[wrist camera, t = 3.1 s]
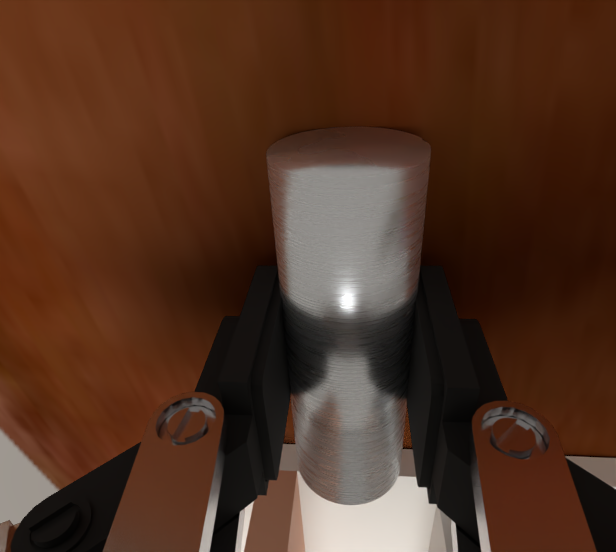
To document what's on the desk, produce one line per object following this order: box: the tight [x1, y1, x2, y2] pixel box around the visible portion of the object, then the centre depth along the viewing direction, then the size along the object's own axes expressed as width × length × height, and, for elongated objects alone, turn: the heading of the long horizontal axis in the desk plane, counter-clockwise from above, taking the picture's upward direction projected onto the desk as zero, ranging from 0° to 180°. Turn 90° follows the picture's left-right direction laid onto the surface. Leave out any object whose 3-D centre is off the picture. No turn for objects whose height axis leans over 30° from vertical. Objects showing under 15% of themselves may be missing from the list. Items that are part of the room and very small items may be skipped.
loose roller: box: [266, 127, 431, 505], centre depth 11 cm, size 3×9×3 cm, turn 3°
